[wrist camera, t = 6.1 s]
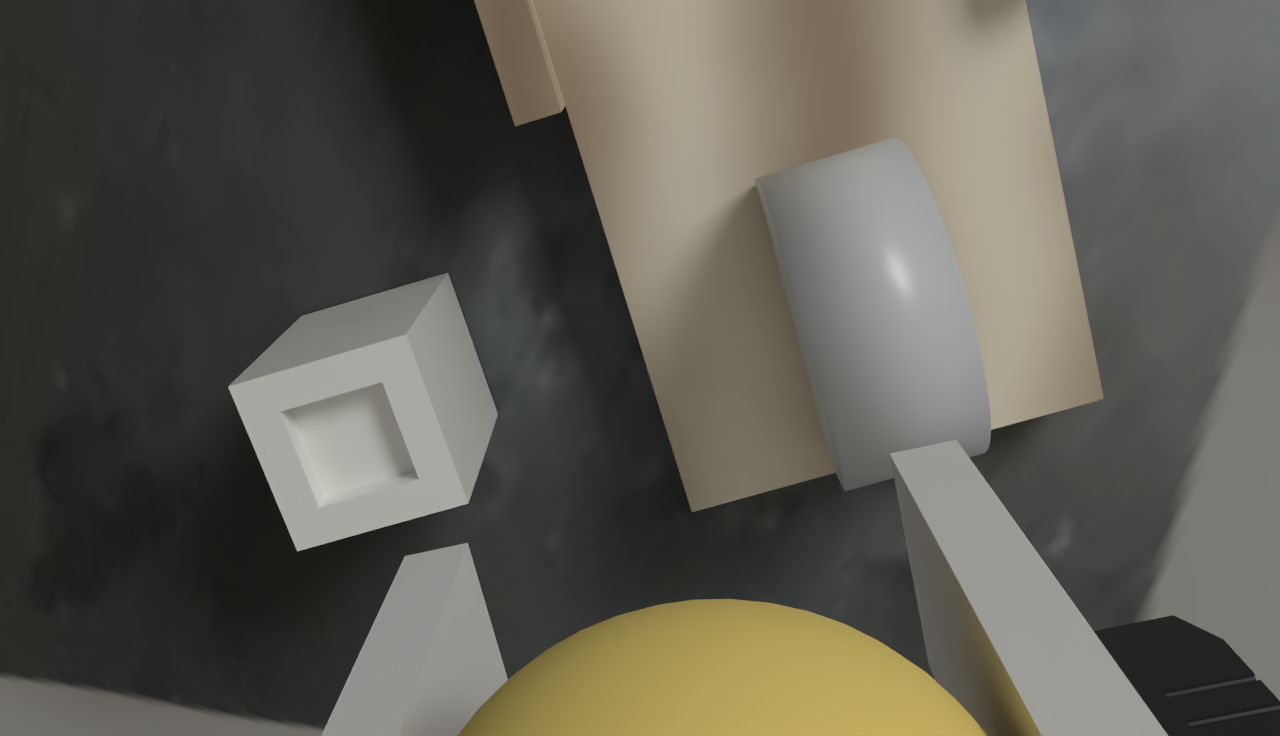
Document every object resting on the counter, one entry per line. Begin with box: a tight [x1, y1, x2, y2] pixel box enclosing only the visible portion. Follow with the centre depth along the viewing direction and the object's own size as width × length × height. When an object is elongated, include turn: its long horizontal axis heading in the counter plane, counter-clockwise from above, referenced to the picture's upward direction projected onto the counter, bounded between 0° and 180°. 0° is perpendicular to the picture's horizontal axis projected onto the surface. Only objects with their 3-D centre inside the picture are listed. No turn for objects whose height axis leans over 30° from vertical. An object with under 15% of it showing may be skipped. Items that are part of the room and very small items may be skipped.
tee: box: [228, 273, 498, 551], centre depth 28 cm, size 4×4×6 cm
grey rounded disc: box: [755, 137, 991, 491], centre depth 26 cm, size 3×7×7 cm, turn 17°
